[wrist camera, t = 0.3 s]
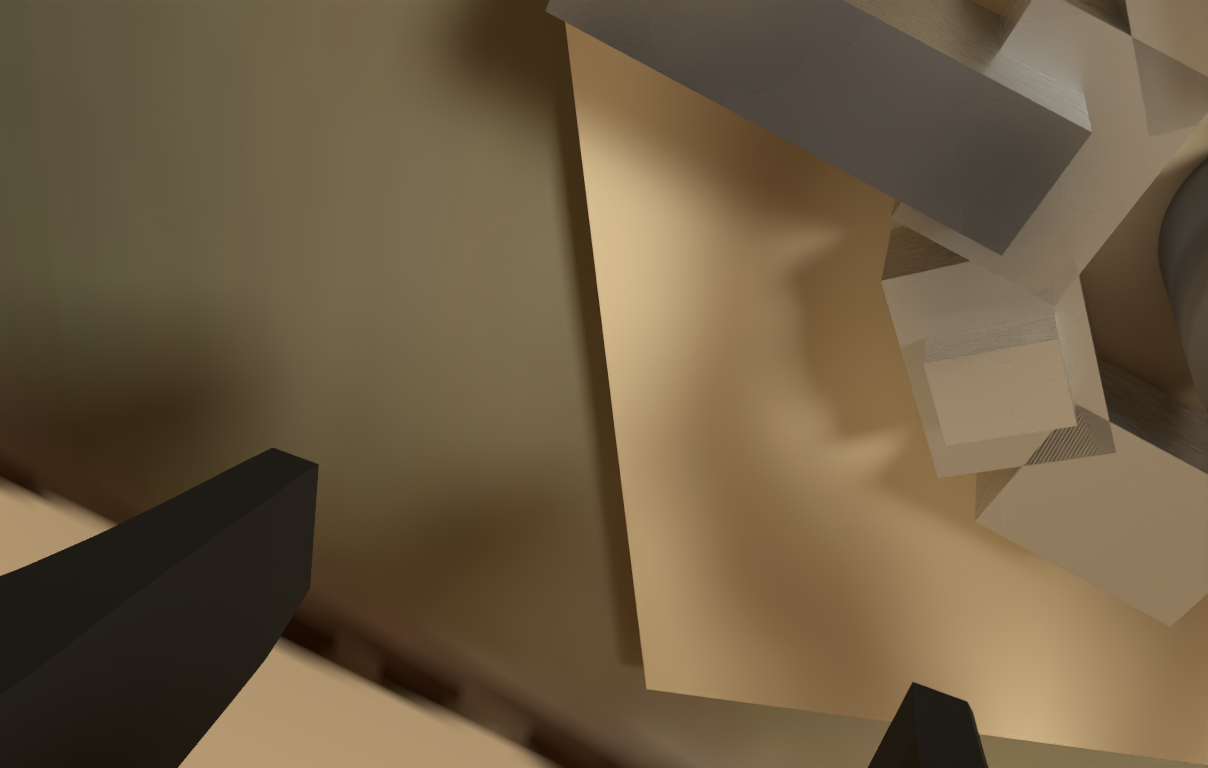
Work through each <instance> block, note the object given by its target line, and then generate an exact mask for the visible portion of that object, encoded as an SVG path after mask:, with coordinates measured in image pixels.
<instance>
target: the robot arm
mask: <svg viewBox="0 0 1208 768" xmlns="http://www.w3.org/2000/svg"><path fill="white" fill-rule="evenodd" d="M318 465H319V464H316V463H313V462H311V461H308V460H305V459H302V458H300V457H297V456H294V455H291V454H289V453H286V452H283V451H280V450H278V449H275V448H271V449H269V450H267V451H265V452H263V453H261V454H259V455H257V456H255V457H253V458H250V459H248V460H246V461H244V462H242V463H240V464H238V465H236V466H234V467H233V468H231V469H229V470H227V471H225V472H223V473H221V474H219V475H217V476H215V477H213V478H211V479H209V480H207V481H205V482H203V483H201V484H199V485H198V486H196V487H194V488H192V489H190V490H188V491H186V492H184V493H182V494H180V495H178V496H176V497H174V498H172V499H170V500H168V501H166V502H164V503H162V504H160V505H158V506H156V507H154V508H152V509H150V510H148V511H146V512H144V513H142V514H140V515H137V516H135V517H133V518H131V519H129V520H127V521H125V522H123V523H121V524H119V525H117V526H115V527H113V528H111V529H109V530H107V531H104V532H102V533H100V534H98V535H96V536H94V537H92V538H89V539H87V540H85V541H82V542H80V543H78V544H75V545H74V546H71V547H69V548H66V549H64V550H62V551H60V552H57V553H55V554H53V555H50V556H48V557H46V558H43V559H41V560H39V561H37V562H34V563H32V564H30V565H27V566H25V567H22V568H20V569H18V570H15V571H13V572H10V573H7V574H5V575H2V576H0V768H178V767H179V765H180V764H181V763H182V762H183V761H184V759H185V758H186V757H187V756H188V754H189V753H190V752H191V751H192V749H193V748H194V747H195V746H196V745H197V743H198V742H199V741H200V740H201V739H202V737H203V736H204V735H205V734H206V732H207V731H208V730H209V729H210V727H211V726H212V725H213V724H214V723H215V721H216V720H217V719H218V718H219V717H220V715H221V714H222V713H223V712H224V710H225V709H226V708H227V707H228V705H229V704H230V703H231V702H232V701H233V699H234V698H235V697H236V696H237V694H238V693H239V692H240V691H241V689H242V688H243V687H244V686H245V684H246V683H247V682H248V681H249V679H250V678H251V677H252V676H253V674H254V673H255V672H256V671H257V669H258V668H259V667H260V665H261V664H262V663H263V662H264V660H265V659H266V658H267V656H268V655H269V653H270V652H271V650H272V648H273V647H274V645H275V644H276V642H277V641H278V639H279V638H280V636H281V634H282V633H283V631H284V630H285V628H286V627H287V625H288V623H289V622H290V620H291V618H292V617H293V615H294V613H295V612H296V610H297V608H298V607H299V605H300V604H301V602H302V600H303V599H304V597H305V595H306V594H307V592H308V590H309V589H310V578H311V564H312V550H313V536H314V522H315V508H316V494H317V480H318ZM868 768H988V765H987V762H986V758H985V755H984V751H983V748H982V744H981V740H980V736H979V733H978V729H977V725H976V721H975V717H974V714H973V711H972V709H971V707H970V705H969V703H968V702H967V701H965V700H962V699H959V698H956V697H954V696H951V695H948V694H945V693H943V692H940V691H937V690H934V689H932V688H929V687H926V686H923V685H921V684H918V683H915V682H912V684H911V686H910V688H909V690H908V691H907V693H906V695H905V697H904V699H903V701H902V703H901V705H900V707H899V709H898V711H897V713H896V715H895V716H894V718H893V720H892V722H891V724H890V726H889V728H888V730H887V732H886V734H885V736H884V738H883V740H882V741H881V743H880V745H879V747H878V749H877V751H876V753H875V755H874V757H873V759H872V761H871V763H870V765H869V766H868Z"/></svg>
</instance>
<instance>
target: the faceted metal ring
mask: <svg viewBox="0 0 1208 768" xmlns="http://www.w3.org/2000/svg"><path fill="white" fill-rule="evenodd" d="M545 12H547V13H549V14H551V15H553V16H555V17H557V18H559V19H560V20H562V21H564V22H566V23H568V24H570V25H572V26H573V27H575V28H577V29H579V30H581V31H583V32H585V33H587V34H588V35H590V36H592V37H594V38H596V39H598V40H600V41H602V42H603V43H605V44H607V45H609V46H611V47H613V48H615V49H616V50H618V51H620V52H622V53H624V54H626V55H628V56H630V57H631V58H633V59H635V60H637V61H639V62H641V63H643V64H644V65H646V66H648V67H650V68H652V69H654V70H656V71H658V72H659V73H661V74H663V75H665V76H667V77H669V78H671V79H672V80H674V81H676V82H678V83H680V84H682V85H684V86H686V87H687V88H689V89H691V90H693V91H695V92H697V93H699V94H700V95H702V96H704V97H706V98H708V99H710V100H712V101H714V102H715V103H717V104H719V105H721V106H723V107H725V108H727V109H728V110H730V111H732V112H734V113H736V114H738V115H740V116H742V117H743V118H745V119H747V120H749V121H751V122H753V123H755V124H756V125H758V126H760V127H762V128H764V129H766V130H768V131H770V132H771V133H773V134H775V135H777V136H779V137H781V138H783V139H785V140H786V141H788V142H790V143H792V144H794V145H796V146H798V147H799V148H801V149H803V150H805V151H807V152H809V153H811V154H813V155H814V156H816V157H818V158H820V159H822V160H824V161H826V162H827V163H829V164H831V165H833V166H835V167H837V168H839V169H841V170H842V171H844V172H846V173H848V174H850V175H852V176H854V177H855V178H857V179H859V180H861V181H863V182H865V183H867V184H869V185H870V186H872V187H874V188H876V189H878V190H880V191H882V192H883V193H885V194H887V195H889V196H891V197H893V198H895V201H894V206H893V211H892V215H891V219H893V220H895V221H897V222H899V223H901V224H902V225H904V226H902V227H898V228H893V229H891V234H890V239H889V244H888V249H887V253H886V258H885V263H884V268H883V273H882V278H881V283H882V286H883V290H884V293H885V297H886V300H887V303H888V307H889V310H890V314H891V317H892V321H893V324H894V328H895V331H896V335H897V338H898V342H899V345H900V349H901V352H902V355H903V359H904V362H905V366H906V369H907V373H908V376H909V380H910V383H911V387H912V390H913V394H914V397H915V401H916V404H917V407H918V411H919V414H920V418H921V421H922V425H923V428H924V432H925V435H926V439H927V442H928V446H929V449H930V453H931V456H932V459H933V463H934V466H935V470H936V473H937V477H938V478H942V477H949V476H956V475H963V474H971V473H976V506H975V521H976V522H977V523H979V524H981V525H983V526H985V527H987V528H989V529H990V530H992V531H994V532H996V533H998V534H1000V535H1001V536H1003V537H1005V538H1007V539H1009V540H1011V541H1013V542H1014V543H1016V544H1018V545H1020V546H1022V547H1024V548H1025V549H1027V550H1029V551H1031V552H1033V553H1035V554H1037V555H1038V556H1040V557H1042V558H1044V559H1046V560H1048V561H1050V562H1051V563H1053V564H1055V565H1057V566H1059V567H1061V568H1062V569H1064V570H1066V571H1068V572H1070V573H1072V574H1074V575H1075V576H1077V577H1079V578H1081V579H1083V580H1085V581H1086V582H1088V583H1090V584H1092V585H1094V586H1096V587H1098V588H1099V589H1101V590H1103V591H1105V592H1107V593H1109V594H1110V595H1112V596H1114V597H1116V598H1118V599H1120V600H1122V601H1123V602H1125V603H1127V604H1129V605H1131V606H1133V607H1134V608H1136V609H1138V610H1140V611H1142V612H1144V613H1146V614H1147V615H1149V616H1151V617H1153V618H1155V619H1157V620H1158V621H1160V622H1162V623H1164V624H1166V625H1168V626H1170V627H1171V626H1172V625H1173V624H1174V623H1176V622H1177V621H1178V620H1179V619H1180V618H1181V617H1182V616H1183V615H1184V614H1185V613H1187V612H1188V611H1189V610H1190V609H1191V608H1192V607H1193V606H1194V605H1195V604H1196V603H1198V602H1199V601H1200V600H1201V599H1202V598H1203V597H1204V596H1205V595H1206V594H1207V593H1208V415H1206V414H1204V413H1202V412H1200V411H1199V410H1197V409H1195V408H1193V407H1191V406H1189V405H1187V404H1186V403H1184V402H1182V401H1180V400H1178V399H1176V398H1174V397H1173V396H1171V395H1169V394H1167V393H1165V392H1163V391H1161V390H1159V389H1158V388H1156V387H1154V386H1152V385H1150V384H1148V383H1146V382H1145V381H1143V380H1141V379H1139V378H1137V377H1135V376H1133V375H1132V374H1130V373H1128V372H1126V371H1124V370H1122V369H1120V368H1118V367H1117V366H1115V365H1113V364H1111V363H1109V362H1107V361H1105V360H1104V359H1102V358H1100V357H1099V353H1098V349H1097V344H1096V339H1095V334H1094V330H1093V325H1092V320H1091V315H1090V311H1089V306H1088V301H1087V296H1086V292H1085V287H1084V282H1083V277H1082V273H1081V272H1082V270H1083V269H1084V268H1085V267H1086V265H1087V264H1088V263H1089V262H1090V260H1091V259H1092V258H1093V256H1094V255H1095V254H1096V253H1097V251H1098V250H1099V249H1100V248H1101V246H1102V245H1103V244H1104V243H1105V241H1106V240H1107V239H1108V238H1109V236H1110V235H1111V234H1112V233H1113V231H1114V230H1115V229H1116V227H1117V226H1118V225H1119V224H1120V222H1121V221H1122V220H1123V219H1124V217H1125V216H1126V215H1127V214H1128V212H1129V211H1130V210H1131V209H1132V207H1133V206H1134V205H1135V203H1136V202H1137V201H1138V200H1139V198H1140V197H1141V196H1142V195H1143V193H1144V192H1145V191H1146V190H1147V188H1148V187H1149V186H1150V185H1151V183H1152V182H1153V181H1154V179H1155V178H1156V177H1157V176H1158V174H1159V173H1160V172H1161V171H1162V169H1163V168H1164V167H1165V166H1166V164H1167V163H1168V162H1169V161H1170V159H1171V158H1172V157H1173V155H1174V154H1175V153H1176V152H1177V150H1178V149H1179V148H1180V147H1181V145H1182V144H1183V143H1184V142H1185V140H1186V139H1187V138H1188V137H1189V135H1190V134H1191V133H1192V131H1193V130H1194V129H1195V128H1196V126H1197V125H1201V124H1205V123H1208V0H1117V2H1116V1H1114V0H1009V1H1008V3H1007V4H1006V6H1005V8H1004V9H1003V11H1002V12H1001V14H1000V15H999V14H997V13H995V12H993V11H991V10H989V9H987V8H985V7H983V6H982V5H980V4H978V3H976V2H974V1H972V0H549V3H548V5H547V8H546V11H545Z"/></svg>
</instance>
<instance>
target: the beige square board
mask: <svg viewBox="0 0 1208 768" xmlns="http://www.w3.org/2000/svg"><path fill="white" fill-rule="evenodd" d="M972 1H974V2H976V3H978V4H980V5H982V6H983V7H985V8H987V9H989V10H991V11H993V12H995V13H997V14H999V15H1000V14H1001V12H1002V11H1003V9H1004V8H1005V6H1006V4H1007V3H1008V1H1009V0H972ZM1114 1H1116V2H1117V0H1114ZM565 25H566V33H567V41H568V50H569V58H570V66H571V74H572V82H573V90H574V99H575V107H576V115H577V123H578V131H579V140H580V148H581V156H582V164H583V172H584V181H585V189H586V197H587V205H588V213H589V222H590V230H591V238H592V246H593V254H594V263H595V271H596V279H597V287H598V295H599V304H600V312H601V320H602V328H603V336H604V345H605V353H606V361H607V369H608V377H609V386H610V394H611V402H612V410H613V418H614V427H615V435H616V443H617V451H618V459H619V468H620V476H621V484H622V492H623V500H624V509H625V517H626V525H627V533H628V541H629V550H630V558H631V566H632V574H633V582H634V590H635V599H636V607H637V615H638V623H639V631H640V640H641V648H642V656H643V664H644V672H645V681H646V689H649V690H657V691H664V692H671V693H679V694H686V695H694V696H701V697H708V698H716V699H723V700H731V701H738V702H745V703H753V704H760V705H768V706H775V707H782V708H790V709H797V710H805V711H812V712H819V713H827V714H834V715H842V716H849V717H856V718H864V719H871V720H879V721H886V722H892V720H893V718H894V716H895V715H896V713H897V711H898V709H899V707H900V705H901V703H902V701H903V699H904V697H905V695H906V693H907V691H908V690H909V688H910V686H911V684H912V682H915V683H918V684H921V685H923V686H926V687H929V688H932V689H934V690H937V691H940V692H943V693H945V694H948V695H951V696H954V697H956V698H959V699H962V700H965V701H967V702H968V703H969V705H970V707H971V709H972V711H973V714H974V717H975V721H976V725H977V729H978V733H979V734H982V735H990V736H997V737H1004V738H1012V739H1019V740H1027V741H1034V742H1041V743H1049V744H1056V745H1064V746H1071V747H1078V748H1086V749H1093V750H1101V751H1108V752H1115V753H1123V754H1130V755H1138V756H1145V757H1152V758H1160V759H1167V760H1175V761H1182V762H1189V763H1197V764H1204V765H1208V593H1207V594H1206V595H1205V596H1204V597H1203V598H1202V599H1201V600H1200V601H1199V602H1198V603H1196V604H1195V605H1194V606H1193V607H1192V608H1191V609H1190V610H1189V611H1188V612H1187V613H1185V614H1184V615H1183V616H1182V617H1181V618H1180V619H1179V620H1178V621H1177V622H1176V623H1174V624H1173V625H1172V626H1171V627H1170V626H1168V625H1166V624H1164V623H1162V622H1160V621H1158V620H1157V619H1155V618H1153V617H1151V616H1149V615H1147V614H1146V613H1144V612H1142V611H1140V610H1138V609H1136V608H1134V607H1133V606H1131V605H1129V604H1127V603H1125V602H1123V601H1122V600H1120V599H1118V598H1116V597H1114V596H1112V595H1110V594H1109V593H1107V592H1105V591H1103V590H1101V589H1099V588H1098V587H1096V586H1094V585H1092V584H1090V583H1088V582H1086V581H1085V580H1083V579H1081V578H1079V577H1077V576H1075V575H1074V574H1072V573H1070V572H1068V571H1066V570H1064V569H1062V568H1061V567H1059V566H1057V565H1055V564H1053V563H1051V562H1050V561H1048V560H1046V559H1044V558H1042V557H1040V556H1038V555H1037V554H1035V553H1033V552H1031V551H1029V550H1027V549H1025V548H1024V547H1022V546H1020V545H1018V544H1016V543H1014V542H1013V541H1011V540H1009V539H1007V538H1005V537H1003V536H1001V535H1000V534H998V533H996V532H994V531H992V530H990V529H989V528H987V527H985V526H983V525H981V524H979V523H977V522H976V521H975V506H976V473H971V474H963V475H956V476H949V477H942V478H938V477H937V473H936V470H935V466H934V463H933V459H932V456H931V453H930V449H929V446H928V442H927V439H926V435H925V432H924V428H923V425H922V421H921V418H920V414H919V411H918V407H917V404H916V401H915V397H914V394H913V390H912V387H911V383H910V380H909V376H908V373H907V369H906V366H905V362H904V359H903V355H902V352H901V349H900V345H899V342H898V338H897V335H896V331H895V328H894V324H893V321H892V317H891V314H890V310H889V307H888V303H887V300H886V297H885V293H884V290H883V286H882V283H881V278H882V273H883V268H884V263H885V258H886V253H887V249H888V244H889V239H890V234H891V229H893V228H898V227H902V226H904V225H902V224H901V223H899V222H897V221H895V220H893V219H891V215H892V211H893V206H894V201H895V198H893V197H891V196H889V195H887V194H885V193H883V192H882V191H880V190H878V189H876V188H874V187H872V186H870V185H869V184H867V183H865V182H863V181H861V180H859V179H857V178H855V177H854V176H852V175H850V174H848V173H846V172H844V171H842V170H841V169H839V168H837V167H835V166H833V165H831V164H829V163H827V162H826V161H824V160H822V159H820V158H818V157H816V156H814V155H813V154H811V153H809V152H807V151H805V150H803V149H801V148H799V147H798V146H796V145H794V144H792V143H790V142H788V141H786V140H785V139H783V138H781V137H779V136H777V135H775V134H773V133H771V132H770V131H768V130H766V129H764V128H762V127H760V126H758V125H756V124H755V123H753V122H751V121H749V120H747V119H745V118H743V117H742V116H740V115H738V114H736V113H734V112H732V111H730V110H728V109H727V108H725V107H723V106H721V105H719V104H717V103H715V102H714V101H712V100H710V99H708V98H706V97H704V96H702V95H700V94H699V93H697V92H695V91H693V90H691V89H689V88H687V87H686V86H684V85H682V84H680V83H678V82H676V81H674V80H672V79H671V78H669V77H667V76H665V75H663V74H661V73H659V72H658V71H656V70H654V69H652V68H650V67H648V66H646V65H644V64H643V63H641V62H639V61H637V60H635V59H633V58H631V57H630V56H628V55H626V54H624V53H622V52H620V51H618V50H616V49H615V48H613V47H611V46H609V45H607V44H605V43H603V42H602V41H600V40H598V39H596V38H594V37H592V36H590V35H588V34H587V33H585V32H583V31H581V30H579V29H577V28H575V27H573V26H572V25H570V24H568V23H566V22H565ZM1081 273H1082V277H1083V282H1084V287H1085V292H1086V296H1087V301H1088V306H1089V311H1090V315H1091V320H1092V325H1093V330H1094V334H1095V339H1096V344H1097V349H1098V353H1099V357H1100V358H1102V359H1104V360H1105V361H1107V362H1109V363H1111V364H1113V365H1115V366H1117V367H1118V368H1120V369H1122V370H1124V371H1126V372H1128V373H1130V374H1132V375H1133V376H1135V377H1137V378H1139V379H1141V380H1143V381H1145V382H1146V383H1148V384H1150V385H1152V386H1154V387H1156V388H1158V389H1159V390H1161V391H1163V392H1165V393H1167V394H1169V395H1171V396H1173V397H1174V398H1176V399H1178V400H1180V401H1182V402H1184V403H1186V404H1187V405H1189V406H1191V407H1193V408H1195V409H1197V410H1199V411H1200V412H1202V413H1204V414H1206V415H1208V123H1205V124H1201V125H1197V126H1196V128H1195V129H1194V130H1193V131H1192V133H1191V134H1190V135H1189V137H1188V138H1187V139H1186V140H1185V142H1184V143H1183V144H1182V145H1181V147H1180V148H1179V149H1178V150H1177V152H1176V153H1175V154H1174V155H1173V157H1172V158H1171V159H1170V161H1169V162H1168V163H1167V164H1166V166H1165V167H1164V168H1163V169H1162V171H1161V172H1160V173H1159V174H1158V176H1157V177H1156V178H1155V179H1154V181H1153V182H1152V183H1151V185H1150V186H1149V187H1148V188H1147V190H1146V191H1145V192H1144V193H1143V195H1142V196H1141V197H1140V198H1139V200H1138V201H1137V202H1136V203H1135V205H1134V206H1133V207H1132V209H1131V210H1130V211H1129V212H1128V214H1127V215H1126V216H1125V217H1124V219H1123V220H1122V221H1121V222H1120V224H1119V225H1118V226H1117V227H1116V229H1115V230H1114V231H1113V233H1112V234H1111V235H1110V236H1109V238H1108V239H1107V240H1106V241H1105V243H1104V244H1103V245H1102V246H1101V248H1100V249H1099V250H1098V251H1097V253H1096V254H1095V255H1094V256H1093V258H1092V259H1091V260H1090V262H1089V263H1088V264H1087V265H1086V267H1085V268H1084V269H1083V270H1082V272H1081Z"/></svg>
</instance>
